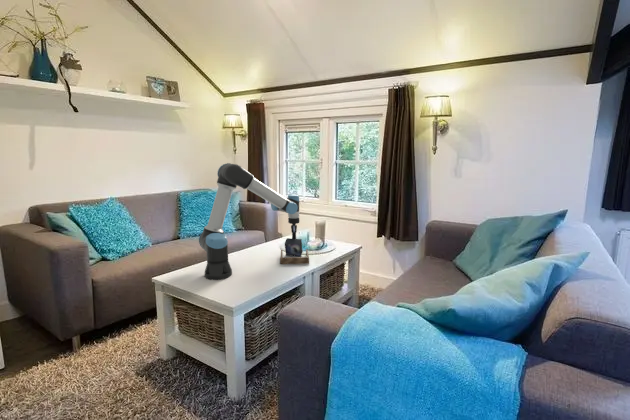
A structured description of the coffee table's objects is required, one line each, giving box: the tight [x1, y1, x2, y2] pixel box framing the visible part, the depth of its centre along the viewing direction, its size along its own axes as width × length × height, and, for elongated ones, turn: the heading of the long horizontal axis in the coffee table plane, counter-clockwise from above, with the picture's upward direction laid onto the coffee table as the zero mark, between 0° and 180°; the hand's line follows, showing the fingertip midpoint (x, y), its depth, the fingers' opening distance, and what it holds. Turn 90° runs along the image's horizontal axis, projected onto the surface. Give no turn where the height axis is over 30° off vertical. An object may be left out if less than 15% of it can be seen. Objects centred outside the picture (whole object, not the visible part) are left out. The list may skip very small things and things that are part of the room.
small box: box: [284, 238, 304, 257], centre depth 229 cm, size 11×6×10 cm, turn 79°
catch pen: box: [279, 248, 310, 265], centre depth 222 cm, size 18×18×4 cm
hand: (294, 250), depth 235 cm, fingers closed
